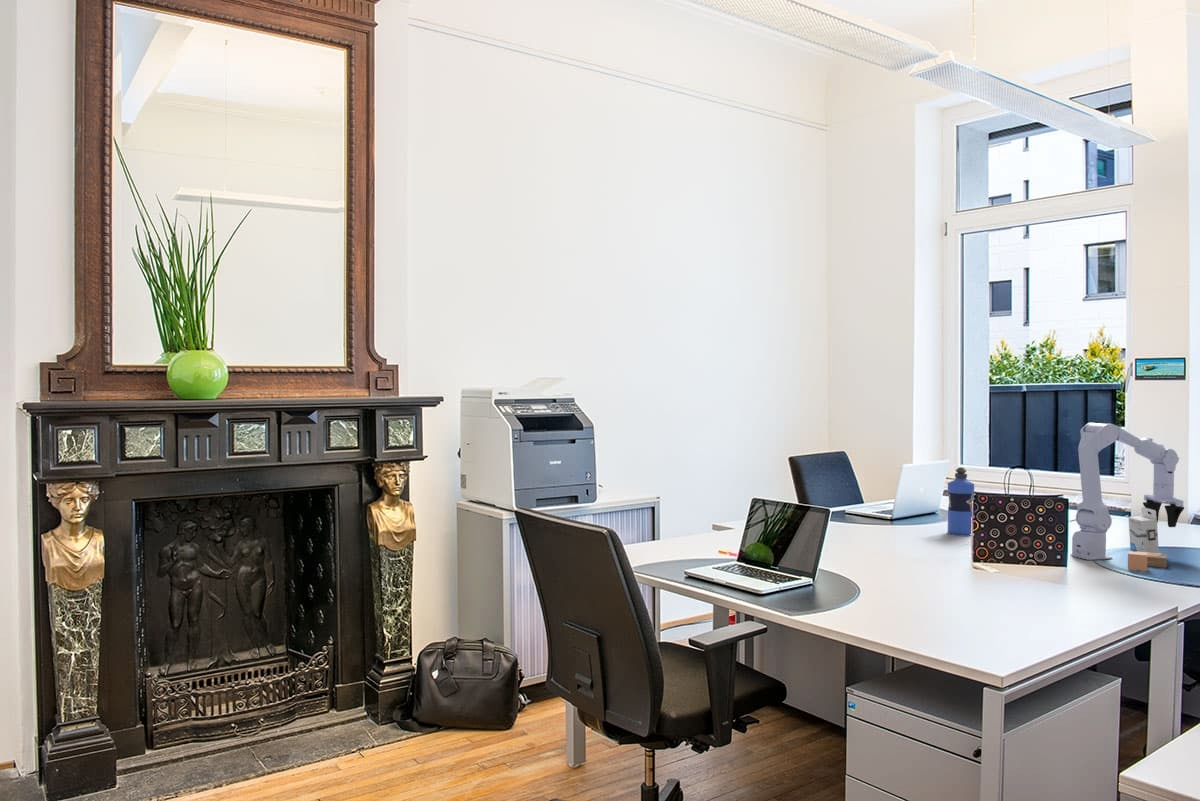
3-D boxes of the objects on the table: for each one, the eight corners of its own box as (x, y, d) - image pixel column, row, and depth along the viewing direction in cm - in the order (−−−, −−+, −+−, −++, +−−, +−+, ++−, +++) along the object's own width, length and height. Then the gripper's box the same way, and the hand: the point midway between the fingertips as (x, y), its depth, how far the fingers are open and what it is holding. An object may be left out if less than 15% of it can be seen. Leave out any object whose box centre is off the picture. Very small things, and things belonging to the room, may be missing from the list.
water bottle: (975, 532, 335) (976, 467, 334) (971, 536, 327) (972, 469, 327) (949, 530, 340) (950, 466, 339) (945, 534, 332) (945, 468, 332)
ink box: (1129, 550, 300) (1126, 507, 300) (1144, 549, 300) (1141, 506, 300) (1144, 555, 291) (1141, 511, 291) (1159, 554, 291) (1156, 510, 291)
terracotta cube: (1146, 571, 268) (1147, 555, 268) (1127, 569, 271) (1127, 553, 271) (1147, 568, 272) (1147, 552, 272) (1128, 566, 275) (1128, 551, 275)
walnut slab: (1166, 567, 273) (1166, 557, 273) (1136, 564, 277) (1136, 554, 277) (1166, 563, 280) (1166, 553, 280) (1136, 560, 284) (1137, 550, 284)
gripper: (1192, 486, 286) (1191, 528, 286) (1157, 481, 300) (1156, 521, 301) (1172, 487, 285) (1172, 529, 285) (1138, 481, 299) (1138, 521, 300)
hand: (1162, 525), depth 293 cm, fingers open, 7 cm apart
